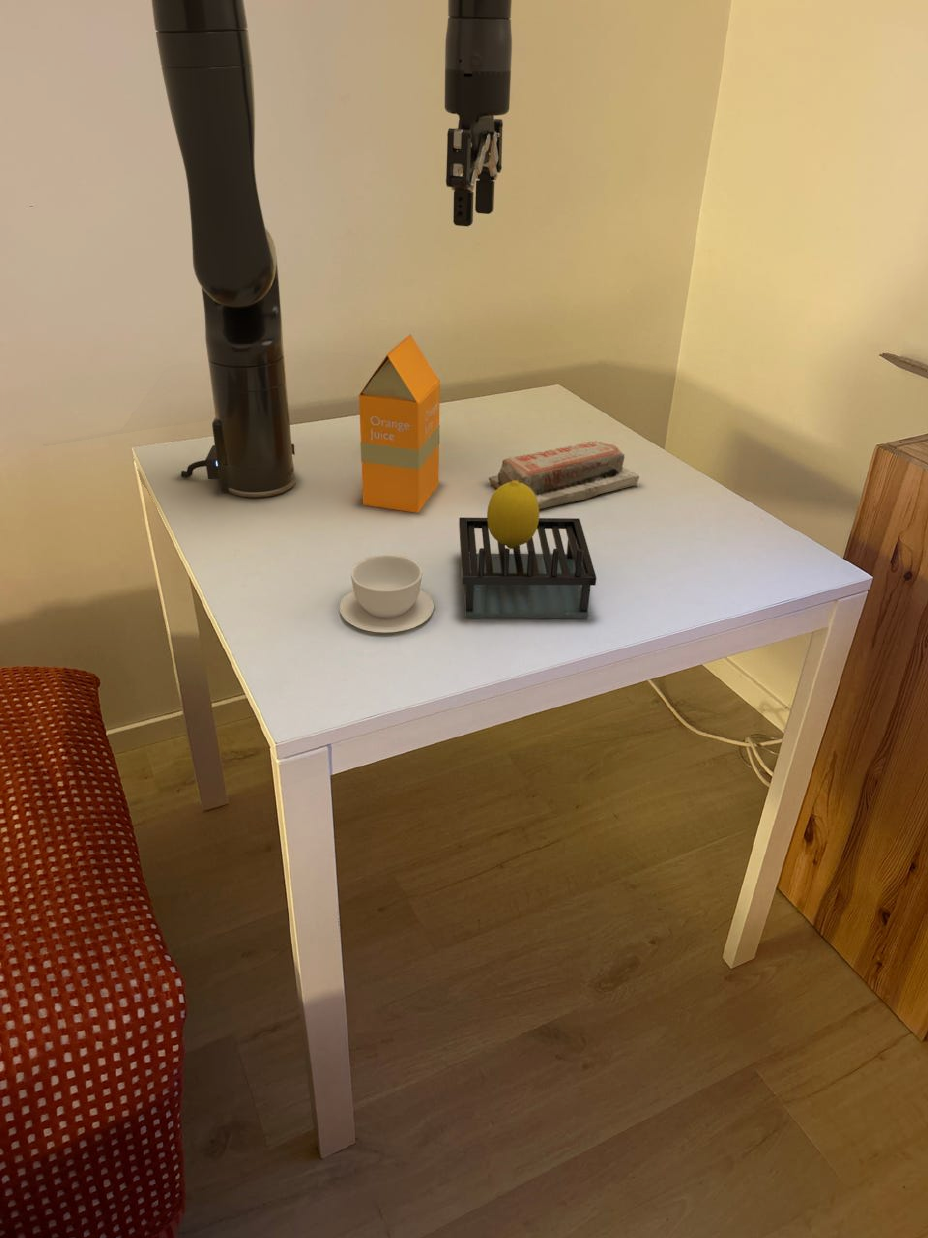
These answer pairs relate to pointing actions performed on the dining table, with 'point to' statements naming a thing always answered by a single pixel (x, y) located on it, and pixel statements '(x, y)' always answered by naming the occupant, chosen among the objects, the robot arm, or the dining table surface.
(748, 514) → the dining table surface
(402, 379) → the orange juice
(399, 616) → the teacup
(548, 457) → the packaged product
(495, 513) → the lemon
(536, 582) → the dish rack
